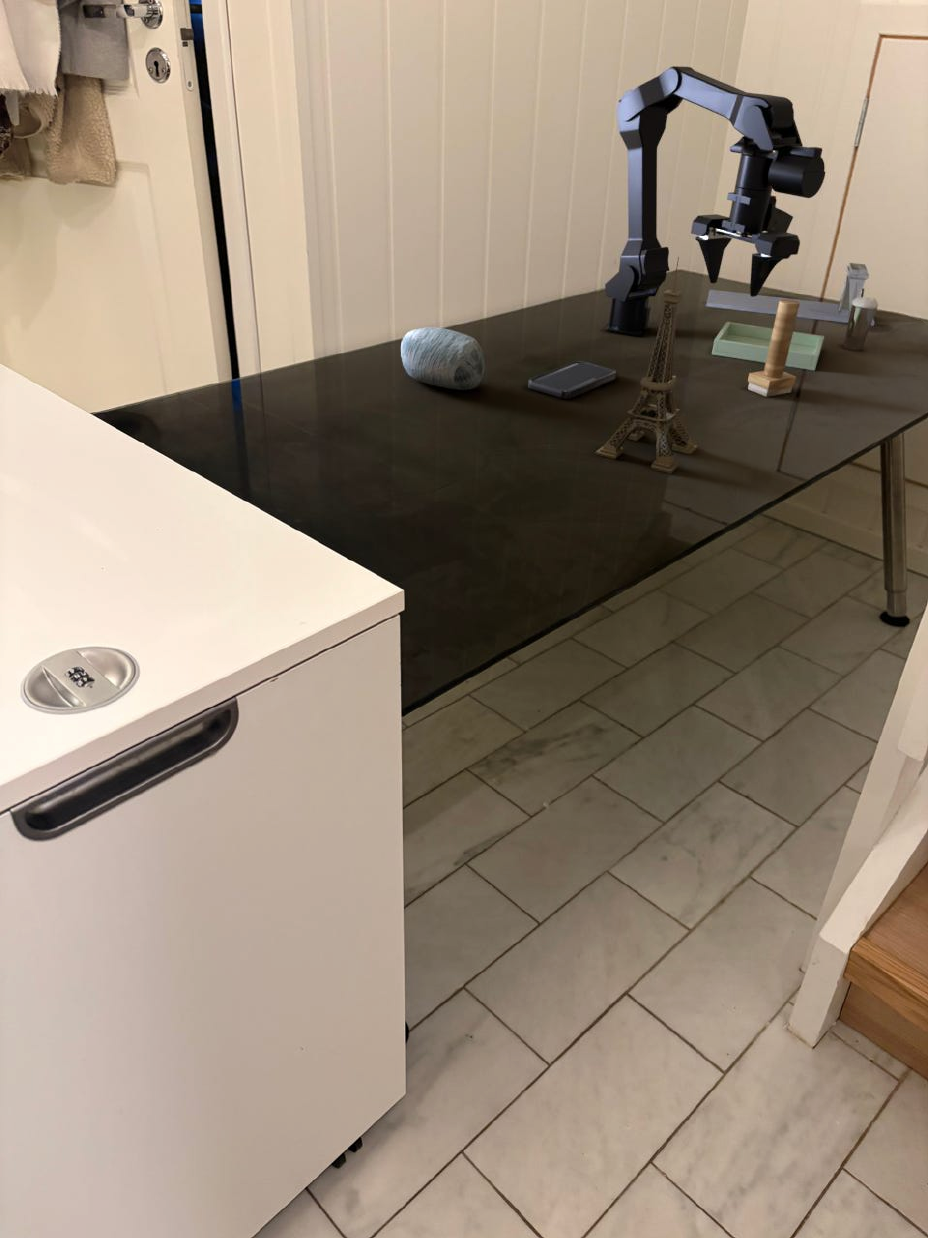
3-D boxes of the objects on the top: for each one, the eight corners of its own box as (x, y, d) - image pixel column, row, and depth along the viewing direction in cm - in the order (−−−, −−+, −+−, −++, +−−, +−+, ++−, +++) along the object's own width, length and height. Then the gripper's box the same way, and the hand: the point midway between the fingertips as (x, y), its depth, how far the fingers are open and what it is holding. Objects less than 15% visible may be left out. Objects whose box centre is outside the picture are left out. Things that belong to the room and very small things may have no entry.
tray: (711, 354, 167) (714, 339, 166) (723, 335, 178) (726, 321, 177) (814, 370, 162) (818, 355, 161) (820, 350, 173) (824, 335, 172)
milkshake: (860, 344, 178) (876, 289, 172) (868, 352, 173) (884, 296, 168) (836, 342, 178) (850, 287, 173) (843, 350, 173) (858, 294, 168)
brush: (766, 397, 149) (786, 306, 141) (745, 388, 152) (765, 299, 145) (792, 392, 152) (814, 303, 144) (772, 384, 155) (792, 296, 147)
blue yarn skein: (505, 364, 146) (479, 309, 139) (475, 406, 142) (446, 352, 135) (439, 365, 154) (411, 314, 148) (408, 404, 150) (378, 354, 144)
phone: (525, 380, 146) (578, 359, 156) (525, 387, 147) (577, 366, 157) (568, 392, 142) (619, 370, 152) (567, 400, 143) (618, 377, 153)
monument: (873, 325, 189) (887, 275, 184) (705, 306, 196) (714, 257, 191) (868, 310, 200) (881, 263, 194) (709, 292, 206) (717, 246, 201)
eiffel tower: (625, 430, 134) (653, 243, 120) (697, 448, 129) (734, 256, 116) (595, 454, 126) (621, 257, 113) (670, 473, 122) (707, 271, 108)
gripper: (835, 195, 146) (809, 299, 155) (746, 176, 159) (727, 272, 168) (785, 198, 141) (761, 305, 149) (697, 178, 154) (680, 277, 162)
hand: (733, 289), depth 157 cm, fingers open, 9 cm apart
